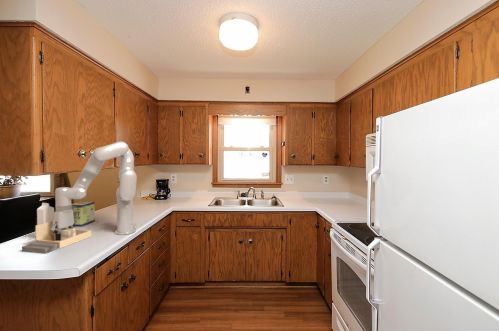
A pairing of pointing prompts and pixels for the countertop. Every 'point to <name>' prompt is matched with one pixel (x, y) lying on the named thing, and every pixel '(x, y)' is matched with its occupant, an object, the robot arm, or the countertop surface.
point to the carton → (49, 237)
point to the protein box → (83, 213)
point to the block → (67, 233)
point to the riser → (39, 248)
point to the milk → (45, 214)
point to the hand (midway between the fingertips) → (64, 237)
